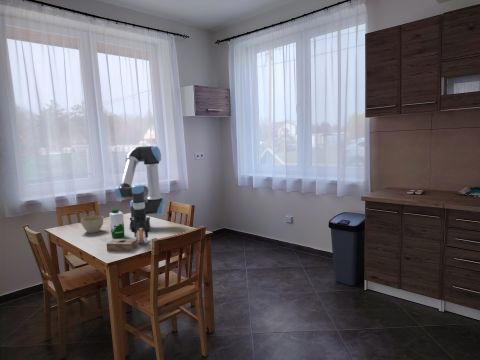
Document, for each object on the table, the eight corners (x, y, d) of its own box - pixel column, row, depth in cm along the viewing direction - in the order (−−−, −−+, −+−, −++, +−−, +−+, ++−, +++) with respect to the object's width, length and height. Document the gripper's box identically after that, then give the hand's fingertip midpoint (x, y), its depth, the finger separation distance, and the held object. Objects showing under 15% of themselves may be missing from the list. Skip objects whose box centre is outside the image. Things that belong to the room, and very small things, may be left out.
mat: (137, 240, 232) (137, 240, 232) (153, 241, 231) (153, 240, 231) (129, 246, 221) (129, 245, 221) (146, 246, 219) (146, 246, 219)
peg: (140, 242, 227) (139, 228, 226) (144, 242, 227) (143, 228, 226) (138, 243, 224) (137, 229, 223) (142, 243, 224) (141, 229, 223)
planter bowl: (96, 234, 251) (95, 220, 250) (77, 234, 254) (76, 220, 253) (108, 229, 267) (107, 215, 265) (90, 228, 270) (89, 215, 269)
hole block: (115, 246, 222) (114, 238, 222) (137, 246, 220) (137, 239, 219) (107, 251, 213) (106, 243, 212) (130, 251, 210) (129, 244, 209)
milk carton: (122, 234, 250) (120, 208, 247) (126, 237, 242) (124, 210, 240) (110, 236, 244) (108, 210, 242) (113, 239, 237) (111, 212, 235)
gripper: (123, 209, 220) (126, 243, 223) (149, 209, 217) (152, 244, 220) (129, 207, 228) (131, 240, 231) (154, 207, 225) (156, 240, 228)
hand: (141, 242), depth 225 cm, fingers open, 5 cm apart
